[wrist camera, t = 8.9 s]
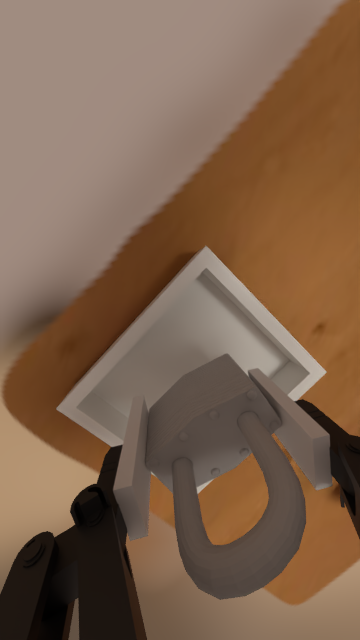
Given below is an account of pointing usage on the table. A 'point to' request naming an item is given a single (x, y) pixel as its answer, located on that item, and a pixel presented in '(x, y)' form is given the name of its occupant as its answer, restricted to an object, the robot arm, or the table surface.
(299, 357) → the parts tray
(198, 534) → the padlock
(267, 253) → the table surface
